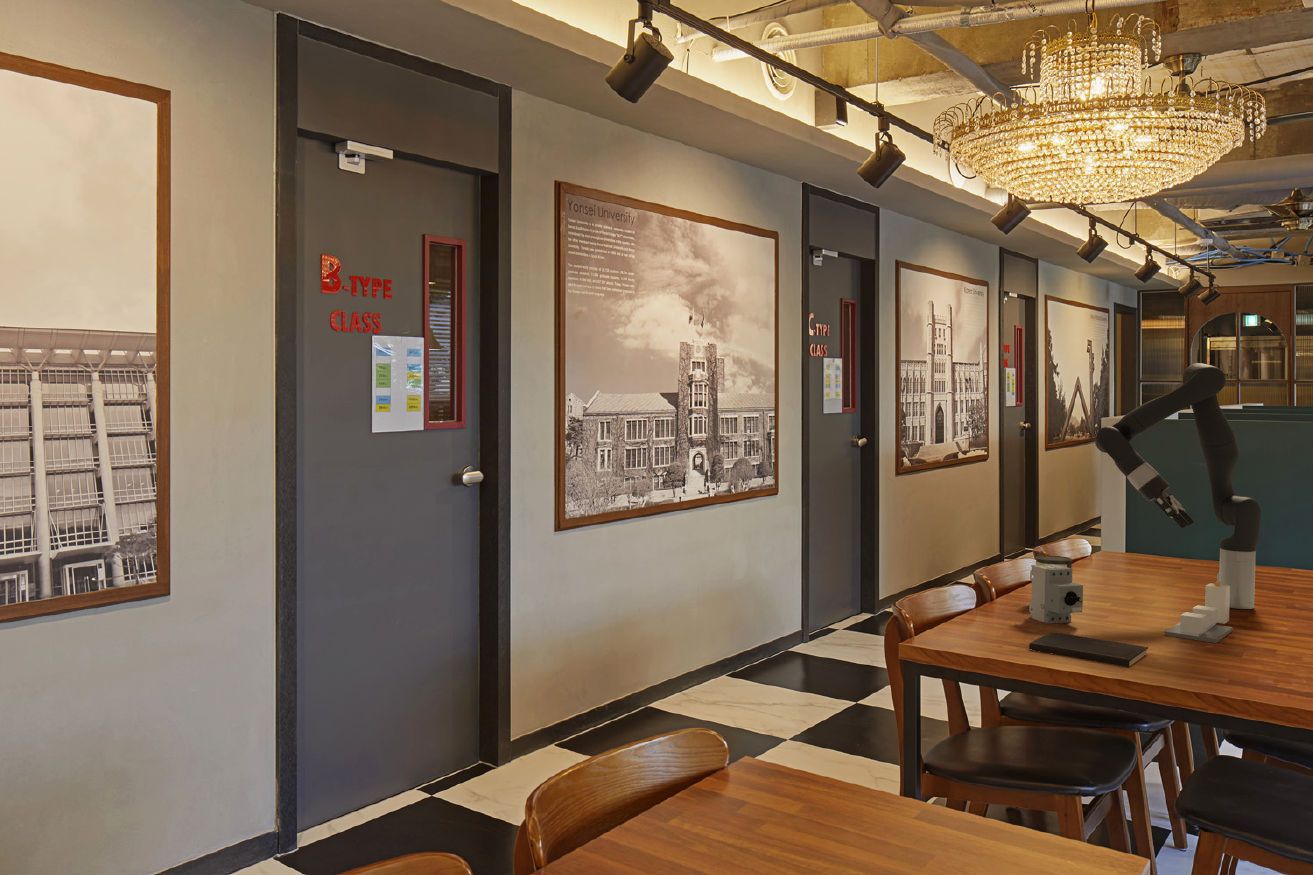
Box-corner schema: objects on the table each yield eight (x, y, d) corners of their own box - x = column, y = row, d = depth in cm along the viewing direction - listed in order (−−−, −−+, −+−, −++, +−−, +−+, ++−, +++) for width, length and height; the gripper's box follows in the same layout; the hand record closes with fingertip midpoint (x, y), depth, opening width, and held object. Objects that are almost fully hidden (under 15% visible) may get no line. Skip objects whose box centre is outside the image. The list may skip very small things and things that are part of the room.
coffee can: (1053, 599, 299) (1054, 554, 298) (1078, 606, 289) (1080, 559, 289) (1027, 601, 295) (1028, 556, 294) (1052, 608, 285) (1053, 561, 285)
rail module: (1209, 617, 274) (1210, 579, 274) (1228, 620, 271) (1230, 582, 271) (1204, 620, 271) (1205, 582, 270) (1224, 623, 267) (1225, 584, 267)
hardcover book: (1051, 640, 249) (1051, 631, 249) (1148, 656, 234) (1148, 646, 234) (1028, 652, 237) (1029, 642, 237) (1129, 669, 222) (1129, 659, 222)
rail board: (1182, 623, 267) (1183, 602, 266) (1232, 630, 259) (1232, 609, 258) (1164, 635, 253) (1165, 613, 253) (1216, 643, 245) (1216, 620, 245)
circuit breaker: (1062, 628, 260) (1064, 573, 259) (1029, 617, 274) (1030, 564, 273) (1086, 627, 262) (1087, 572, 261) (1051, 615, 276) (1052, 563, 275)
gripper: (1153, 474, 276) (1195, 519, 269) (1163, 472, 287) (1204, 515, 281) (1131, 491, 279) (1173, 535, 273) (1142, 488, 291) (1182, 530, 284)
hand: (1188, 525), depth 277 cm, fingers open, 8 cm apart
